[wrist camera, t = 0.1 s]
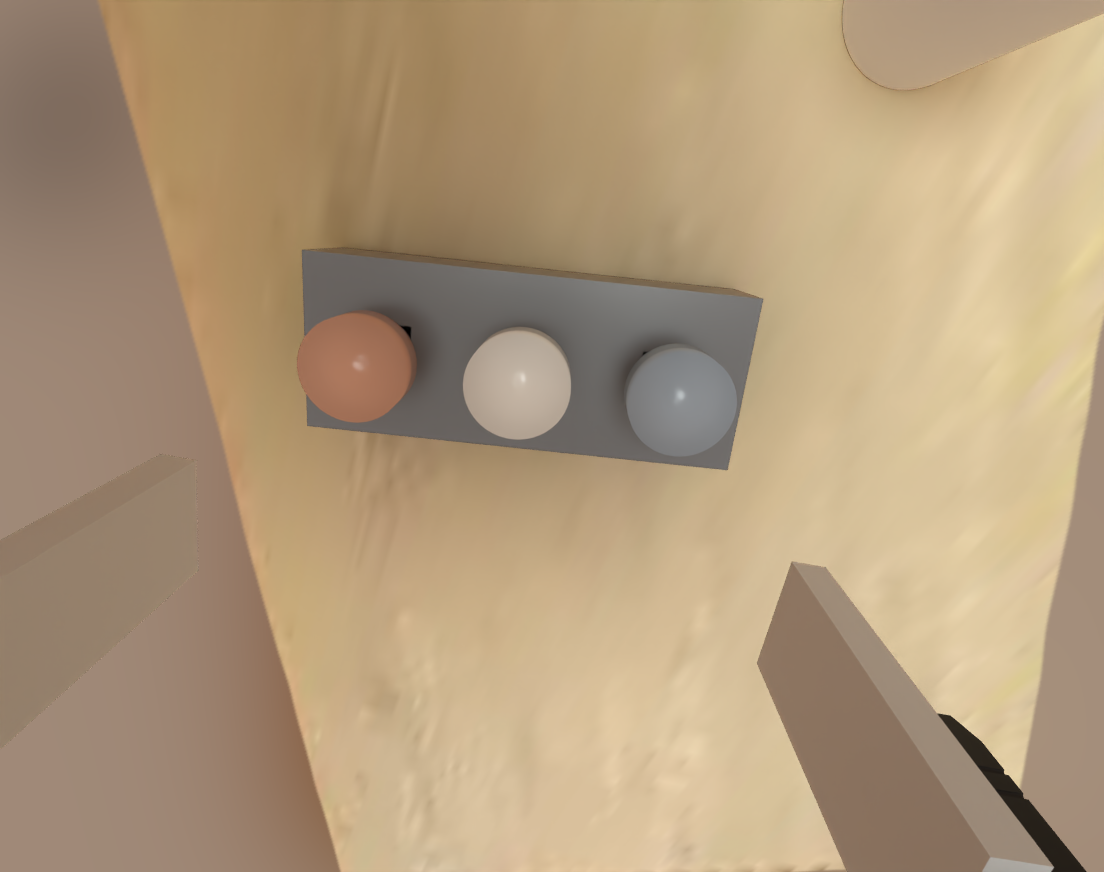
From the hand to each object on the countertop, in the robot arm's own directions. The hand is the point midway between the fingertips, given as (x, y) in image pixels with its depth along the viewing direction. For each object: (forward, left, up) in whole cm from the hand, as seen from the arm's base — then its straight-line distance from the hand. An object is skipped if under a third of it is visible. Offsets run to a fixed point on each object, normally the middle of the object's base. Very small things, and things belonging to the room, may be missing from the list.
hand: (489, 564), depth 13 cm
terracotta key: (0, -9, -24) cm, 25 cm away
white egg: (0, -1, -24) cm, 24 cm away
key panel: (0, -1, -28) cm, 28 cm away
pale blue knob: (0, +7, -24) cm, 25 cm away
